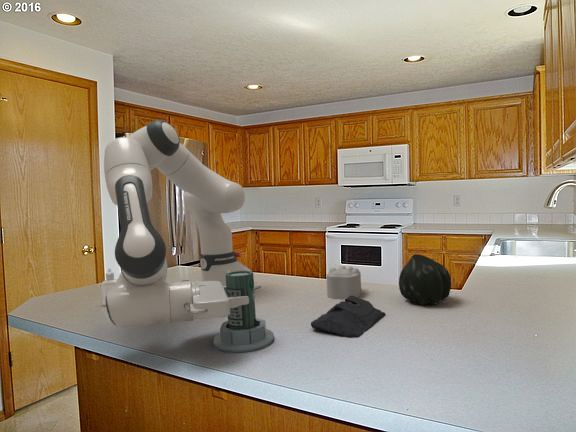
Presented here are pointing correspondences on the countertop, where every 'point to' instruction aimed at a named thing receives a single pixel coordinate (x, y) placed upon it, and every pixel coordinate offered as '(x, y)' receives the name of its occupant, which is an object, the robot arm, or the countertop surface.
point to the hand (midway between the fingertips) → (245, 294)
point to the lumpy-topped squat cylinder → (343, 283)
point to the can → (236, 287)
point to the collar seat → (243, 338)
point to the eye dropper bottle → (107, 285)
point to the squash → (424, 280)
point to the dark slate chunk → (349, 318)
